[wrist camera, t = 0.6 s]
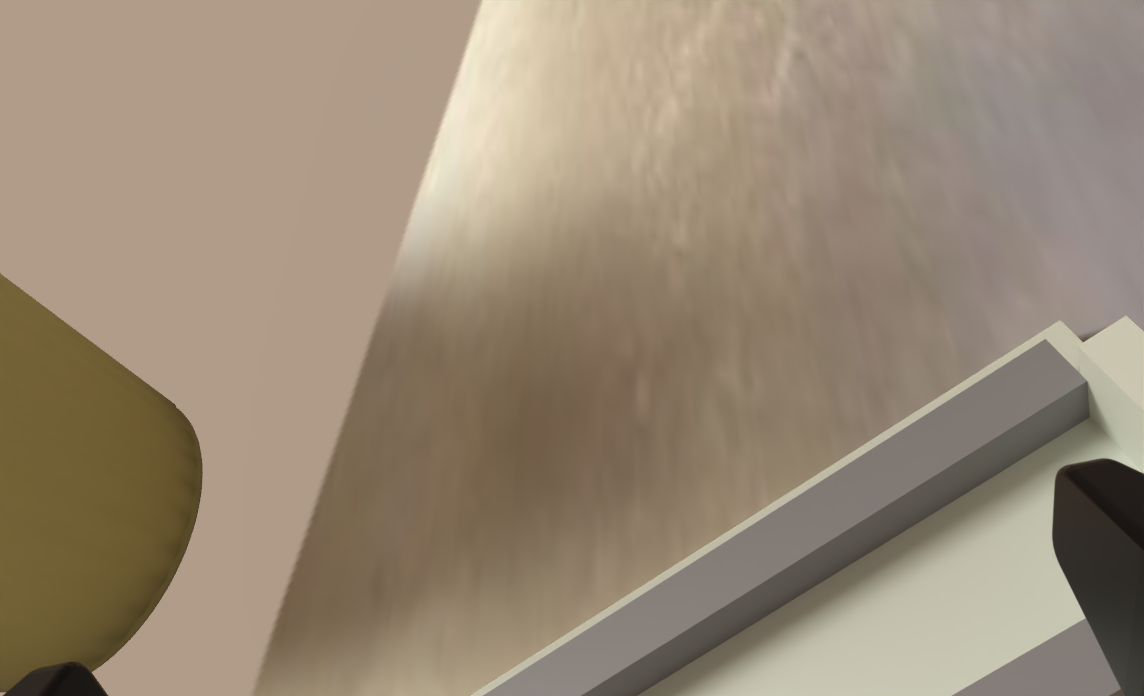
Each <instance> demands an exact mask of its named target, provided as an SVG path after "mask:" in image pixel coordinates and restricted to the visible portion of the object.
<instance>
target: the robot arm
mask: <svg viewBox="0 0 1144 696" xmlns="http://www.w3.org/2000/svg"><path fill="white" fill-rule="evenodd" d="M1052 542H1053V548H1054V552H1055V555H1056V558H1057V561H1058V563H1059V565H1060V567H1061V569H1062V571H1063V573H1064V575H1065V577H1066V579H1067V581H1068V583H1069V585H1070V587H1071V589H1072V591H1073V593H1074V595H1075V597H1076V599H1077V601H1078V604H1079V606H1080V608H1081V610H1082V612H1083V614H1084V616H1085V618H1086V620H1087V622H1088V624H1089V626H1090V628H1091V630H1092V632H1093V634H1094V636H1095V638H1096V640H1097V642H1098V644H1099V646H1100V648H1101V650H1102V652H1103V654H1104V656H1105V658H1106V660H1107V662H1108V664H1109V666H1110V668H1111V670H1112V672H1113V674H1114V676H1115V678H1116V680H1117V682H1118V684H1119V686H1120V688H1121V690H1122V692H1123V694H1124V696H1144V473H1142V472H1140V471H1137V470H1135V469H1133V468H1131V467H1129V466H1127V465H1125V464H1123V463H1120V462H1118V461H1115V460H1113V459H1108V458H1099V459H1094V460H1089V461H1084V462H1079V463H1074V464H1069V465H1065V466H1063V467H1062V468H1060V469H1059V470H1058V472H1057V474H1056V478H1055V485H1054V504H1053V523H1052ZM3 696H108V695H107V693H106V692H105V691H104V689H103V688H102V686H101V685H100V684H99V682H98V681H97V679H96V678H95V677H94V675H93V674H92V672H91V671H90V670H89V669H88V668H87V667H86V666H85V665H83V664H81V663H79V662H73V661H71V662H65V663H60V664H55V665H50V666H45V667H41V668H38V669H35V670H33V671H31V672H30V673H28V674H27V675H26V676H25V677H23V678H22V679H21V680H20V681H19V682H18V683H17V684H16V685H14V686H13V687H12V688H11V689H10V690H9V691H8V692H6V693H5V694H4V695H3Z"/></svg>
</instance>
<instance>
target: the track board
mask: <svg viewBox="0 0 1144 696" xmlns="http://www.w3.org/2000/svg"><path fill="white" fill-rule="evenodd" d="M1099 458H1108V459H1113V460H1115V461H1118V462H1120V463H1123V464H1125V465H1127V466H1129V467H1131V468H1133V469H1135V470H1137V471H1140V472H1142V473H1144V331H1143V330H1141V329H1140V328H1139V327H1138V326H1137V325H1136V324H1135V323H1134V322H1133V321H1132V320H1130V319H1129V318H1128V317H1127V316H1124V317H1123V318H1121V319H1120V320H1118V321H1117V322H1115V323H1113V324H1112V325H1110V326H1109V327H1107V328H1105V329H1104V330H1102V331H1101V332H1099V333H1097V334H1096V335H1094V336H1093V337H1091V338H1090V339H1088V340H1086V341H1085V342H1082V341H1081V340H1080V339H1079V338H1078V337H1077V336H1076V335H1075V334H1074V333H1073V332H1072V331H1071V330H1070V329H1069V328H1068V327H1067V326H1066V325H1065V324H1064V323H1063V322H1062V321H1061V320H1059V321H1058V322H1056V323H1054V324H1053V325H1051V326H1050V327H1048V328H1047V329H1045V330H1043V331H1042V332H1040V333H1039V334H1037V335H1036V336H1034V337H1032V338H1031V339H1029V340H1028V341H1026V342H1025V343H1023V344H1021V345H1020V346H1018V347H1017V348H1015V349H1013V350H1012V351H1010V352H1009V353H1007V354H1006V355H1004V356H1002V357H1001V358H999V359H998V360H996V361H995V362H993V363H991V364H990V365H988V366H987V367H985V368H984V369H982V370H980V371H979V372H977V373H976V374H974V375H973V376H971V377H969V378H968V379H966V380H965V381H963V382H962V383H960V384H958V385H957V386H955V387H954V388H952V389H951V390H949V391H947V392H946V393H944V394H943V395H941V396H940V397H938V398H936V399H935V400H933V401H932V402H930V403H929V404H927V405H925V406H924V407H922V408H921V409H919V410H918V411H916V412H914V413H913V414H911V415H910V416H908V417H907V418H905V419H903V420H902V421H900V422H899V423H897V424H896V425H894V426H892V427H891V428H889V429H888V430H886V431H885V432H883V433H881V434H880V435H878V436H877V437H875V438H874V439H872V440H870V441H869V442H867V443H866V444H864V445H863V446H861V447H859V448H858V449H856V450H855V451H853V452H852V453H850V454H848V455H847V456H845V457H844V458H842V459H841V460H839V461H837V462H836V463H834V464H833V465H831V466H830V467H828V468H826V469H825V470H823V471H822V472H820V473H819V474H817V475H815V476H814V477H812V478H811V479H809V480H808V481H806V482H804V483H803V484H801V485H800V486H798V487H797V488H795V489H793V490H792V491H790V492H789V493H787V494H786V495H784V496H782V497H781V498H779V499H778V500H776V501H774V502H773V503H771V504H770V505H768V506H767V507H765V508H763V509H762V510H760V511H759V512H757V513H756V514H754V515H752V516H751V517H749V518H748V519H746V520H745V521H743V522H741V523H740V524H738V525H737V526H735V527H734V528H732V529H730V530H729V531H727V532H726V533H724V534H723V535H721V536H719V537H718V538H716V539H715V540H713V541H712V542H710V543H708V544H707V545H705V546H704V547H702V548H701V549H699V550H697V551H696V552H694V553H693V554H691V555H690V556H688V557H686V558H685V559H683V560H682V561H680V562H679V563H677V564H675V565H674V566H672V567H671V568H669V569H668V570H666V571H664V572H663V573H661V574H660V575H658V576H657V577H655V578H653V579H652V580H650V581H649V582H647V583H646V584H644V585H642V586H641V587H639V588H638V589H636V590H635V591H633V592H631V593H630V594H628V595H627V596H625V597H624V598H622V599H620V600H619V601H617V602H616V603H614V604H613V605H611V606H609V607H608V608H606V609H605V610H603V611H602V612H600V613H598V614H597V615H595V616H594V617H592V618H591V619H589V620H587V621H586V622H584V623H583V624H581V625H580V626H578V627H576V628H575V629H573V630H572V631H570V632H569V633H567V634H565V635H564V636H562V637H561V638H559V639H558V640H556V641H554V642H553V643H551V644H550V645H548V646H547V647H545V648H543V649H542V650H540V651H539V652H537V653H536V654H534V655H532V656H531V657H529V658H528V659H526V660H524V661H523V662H521V663H520V664H518V665H517V666H515V667H513V668H512V669H510V670H509V671H507V672H506V673H504V674H502V675H501V676H499V677H498V678H496V679H495V680H493V681H491V682H490V683H488V684H487V685H485V686H484V687H482V688H480V689H479V690H477V691H476V692H474V693H473V694H471V695H469V696H1124V694H1123V692H1122V690H1121V688H1120V686H1119V684H1118V682H1117V680H1116V678H1115V676H1114V674H1113V672H1112V670H1111V668H1110V666H1109V664H1108V662H1107V660H1106V658H1105V656H1104V654H1103V652H1102V650H1101V648H1100V646H1099V644H1098V642H1097V640H1096V638H1095V636H1094V634H1093V632H1092V630H1091V628H1090V626H1089V624H1088V622H1087V620H1086V618H1085V616H1084V614H1083V612H1082V610H1081V608H1080V606H1079V604H1078V601H1077V599H1076V597H1075V595H1074V593H1073V591H1072V589H1071V587H1070V585H1069V583H1068V581H1067V579H1066V577H1065V575H1064V573H1063V571H1062V569H1061V567H1060V565H1059V563H1058V561H1057V558H1056V555H1055V552H1054V548H1053V542H1052V523H1053V504H1054V485H1055V478H1056V474H1057V472H1058V470H1059V469H1060V468H1062V467H1063V466H1065V465H1069V464H1074V463H1079V462H1084V461H1089V460H1094V459H1099Z"/></svg>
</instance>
